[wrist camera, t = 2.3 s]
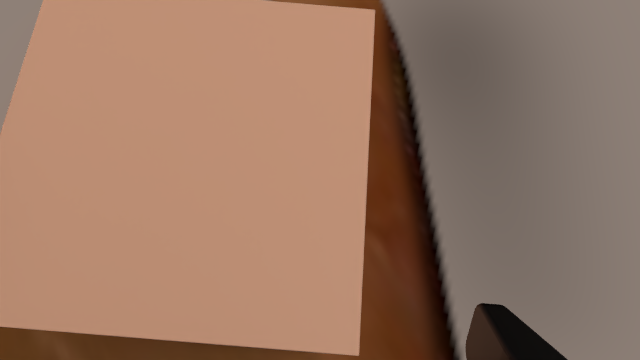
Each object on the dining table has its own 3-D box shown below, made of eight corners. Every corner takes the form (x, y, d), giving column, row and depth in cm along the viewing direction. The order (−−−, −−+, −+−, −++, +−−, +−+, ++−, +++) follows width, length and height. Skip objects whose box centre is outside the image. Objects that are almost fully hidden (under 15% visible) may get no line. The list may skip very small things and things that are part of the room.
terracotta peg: (320, 353, 17) (359, 356, 5) (188, 342, 17) (-61, 322, 5) (330, 224, 18) (375, 9, 7) (208, 214, 18) (48, -18, 7)
